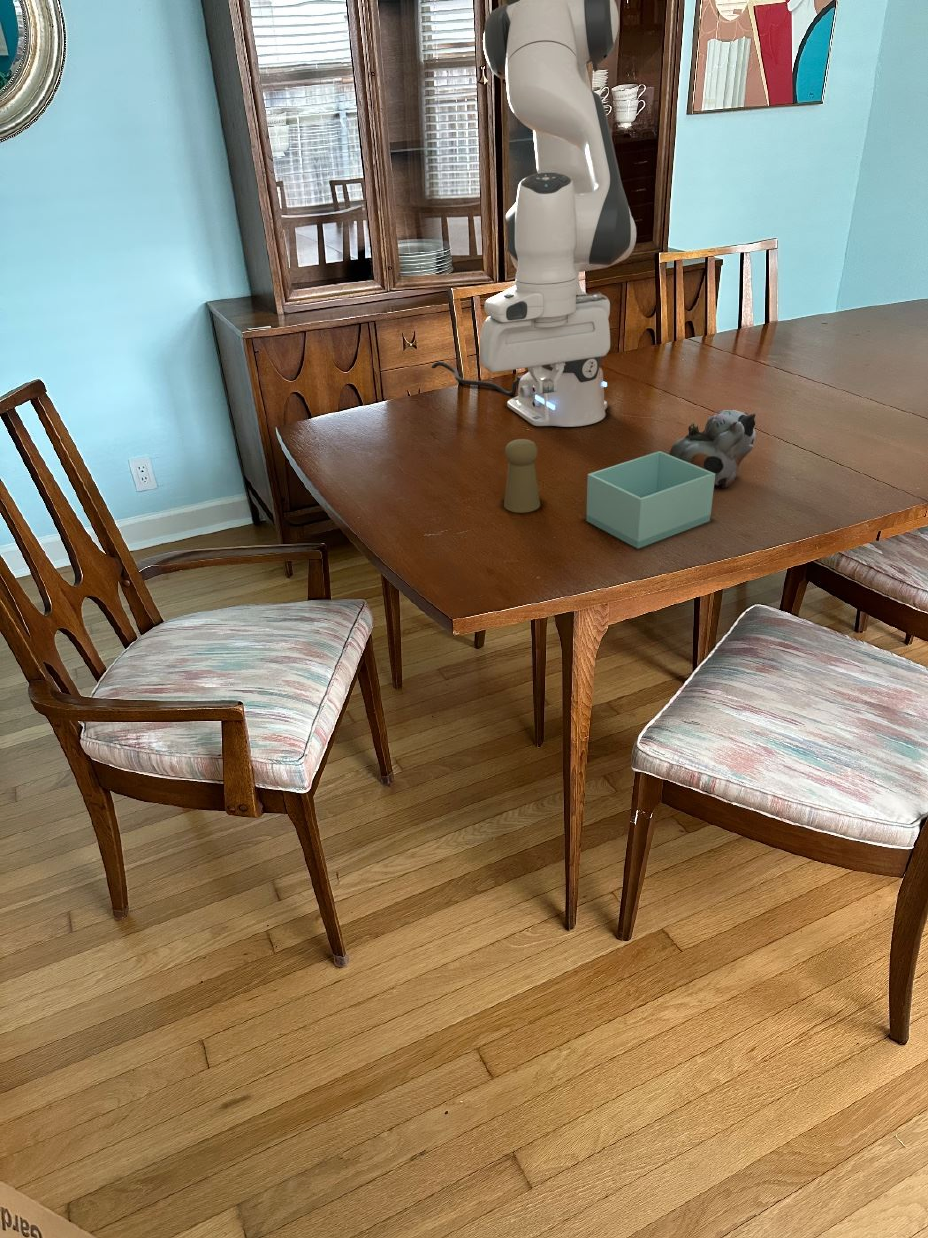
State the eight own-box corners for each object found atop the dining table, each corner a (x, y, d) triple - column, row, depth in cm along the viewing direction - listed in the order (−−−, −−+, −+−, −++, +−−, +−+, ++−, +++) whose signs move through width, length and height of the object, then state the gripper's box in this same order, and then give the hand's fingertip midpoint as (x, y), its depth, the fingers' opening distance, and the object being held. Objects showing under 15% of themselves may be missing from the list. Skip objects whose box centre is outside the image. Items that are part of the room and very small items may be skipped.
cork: (537, 513, 139) (537, 449, 133) (501, 511, 140) (499, 448, 134) (542, 497, 144) (542, 435, 138) (506, 496, 145) (505, 434, 139)
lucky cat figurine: (663, 459, 155) (703, 387, 150) (723, 489, 154) (765, 418, 149) (661, 467, 141) (704, 389, 136) (727, 501, 140) (773, 423, 135)
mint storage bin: (587, 474, 131) (641, 499, 123) (659, 450, 138) (715, 473, 129) (586, 521, 136) (637, 549, 127) (656, 496, 142) (710, 521, 133)
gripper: (600, 286, 130) (597, 377, 137) (474, 303, 125) (478, 395, 132) (619, 294, 125) (615, 387, 132) (488, 311, 120) (492, 407, 127)
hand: (545, 392), depth 132 cm, fingers closed
